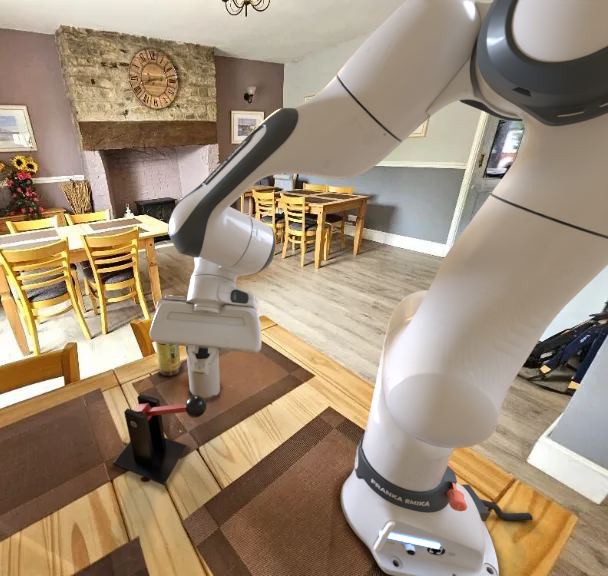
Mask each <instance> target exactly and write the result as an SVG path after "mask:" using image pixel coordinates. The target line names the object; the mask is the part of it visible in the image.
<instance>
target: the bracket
mask: <svg viewBox="0 0 608 576" xmlns="http://www.w3.org/2000/svg"><path fill="white" fill-rule="evenodd" d="M136 398H137V405H138V404H144V403H149V405H150V406H151V408H152V407H161V404H160V403H161V402H160V399H159V398H155V397H153V396H150V395H147V394H143V393H139V394H138V395H137V397H136ZM123 414H124V419H125V423H126V428H127V432H128V437H129V442H128V443H127V445H126V446H125V447H124V448H123V450H122V451H121V453H119V455H118V456H117V457H116V459H115V460H114V461H113V463H112V464H113V465H115V466H117V467H119V468H122V469H124V470H127V471H129V472H131V473H134V474H136V475H139V476H141V477H144V478H146V479H149V480H151V481H153V482H156V483H157V484H161V485H162V486H164V485H165V484H166V483H167V481H168V479H169V478H170V476H171V474H172V472H173V470H174V469H175V467H176V466H177V464H178V462H179V460H180V458H181V457H182V455H183V453H184V451H185V450H186V448H187V446H188V445H187V444H184V443H181V442H178V441H176V440H173V439H171V438H167V437H165V429H164V424H163V416H162V415H153V416H152V417H151V418H150V419H149V420H148V418H147V415H146V414H143V413H140V412H137V411H134V409H131V408H128V407H127V408H126V409H125V410H124V411H123Z"/></svg>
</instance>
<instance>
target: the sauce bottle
mask: <svg viewBox="0 0 608 576" xmlns="http://www.w3.org/2000/svg"><path fill="white" fill-rule="evenodd" d="M155 349H156V356H157V362H158V369H159V372H160V374H161V375H162V376H166V377H172V376H174V375H177V374H178V373H179V372H180V370H181V364H182V363H181V352H180V345H170V344H161V343H157V342H155Z"/></svg>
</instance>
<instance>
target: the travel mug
mask: <svg viewBox="0 0 608 576" xmlns="http://www.w3.org/2000/svg"><path fill="white" fill-rule="evenodd" d="M187 350H188V346H185V351H186V352H185V353H186V354H185V355H186V363H187V374H188V385H189V391H190V393H191V394H192V396H195V395H198V396H201V397H202V398H204V399H205V398H210V397H212V396H215V397H216V396H218V395H219V393H220V391H221V379H220V377H221V376H220V359H219V358H220V357H219V355H220V354H219V351H218V356H217V357H216V359H215V360H214V361H213V363H212V364H211V365H210V370H209V375H204V374H197V373H191V365H192V362H191V359H190V357H189V354H188V351H187ZM195 356H196V359H197V362H198V363H205V362H206V360H207V359H208V357H209V356H210V354H209V353H208V348H199V349H198V353H195Z"/></svg>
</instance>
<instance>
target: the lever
mask: <svg viewBox="0 0 608 576" xmlns="http://www.w3.org/2000/svg"><path fill="white" fill-rule="evenodd" d="M207 406H208V405H207V402H206V400H205V397H204V398H203V397H201V396H198V395H191V396H190V397H189V398H188V399H187V400H186V402H185V403H179V404H169V405H162V406H161V405H160V407H152V408H151V406H150V405H149V403H144V404H138V403H137V405H136V407H135V408H134V409H133V410H134V411H137V412H140V413H143V414H146V415H147V418H148V420H149V419H150V418H151V417H152V416H153V415H161V416H162V415H172V414H179V413H180V414H181V413H186V414H187V415H188V416H189V417H190V418H193V419H199V418H201V417H203V416H204V415H205V414H206V412H207Z"/></svg>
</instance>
